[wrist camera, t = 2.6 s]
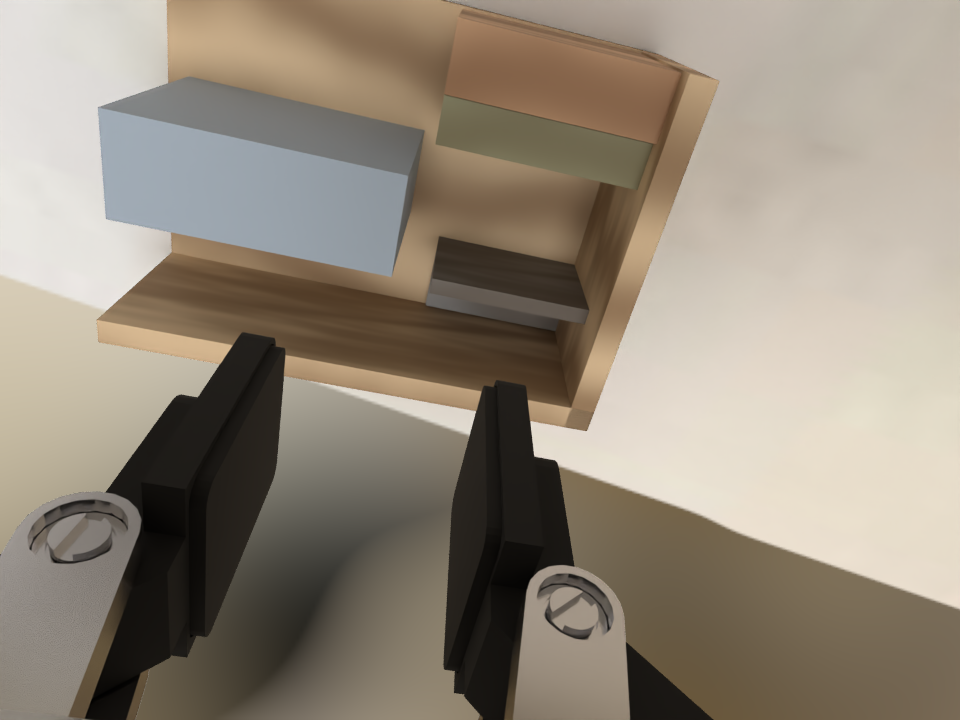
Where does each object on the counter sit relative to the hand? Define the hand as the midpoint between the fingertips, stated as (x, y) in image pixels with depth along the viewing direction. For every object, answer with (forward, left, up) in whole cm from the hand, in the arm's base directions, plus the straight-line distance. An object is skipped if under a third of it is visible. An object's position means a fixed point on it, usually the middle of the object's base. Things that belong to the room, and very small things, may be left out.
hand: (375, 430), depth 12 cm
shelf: (+2, -2, -27) cm, 27 cm away
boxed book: (+2, -7, -26) cm, 27 cm away
